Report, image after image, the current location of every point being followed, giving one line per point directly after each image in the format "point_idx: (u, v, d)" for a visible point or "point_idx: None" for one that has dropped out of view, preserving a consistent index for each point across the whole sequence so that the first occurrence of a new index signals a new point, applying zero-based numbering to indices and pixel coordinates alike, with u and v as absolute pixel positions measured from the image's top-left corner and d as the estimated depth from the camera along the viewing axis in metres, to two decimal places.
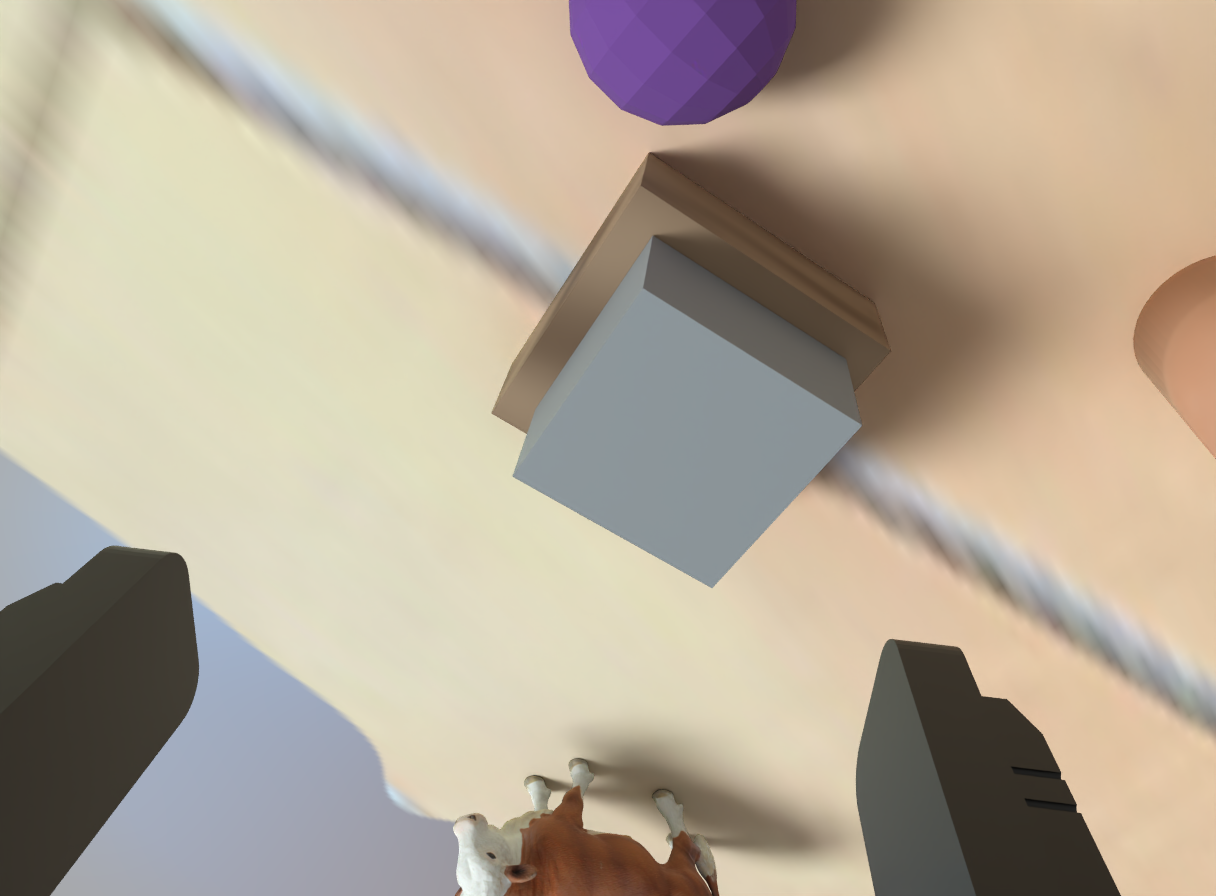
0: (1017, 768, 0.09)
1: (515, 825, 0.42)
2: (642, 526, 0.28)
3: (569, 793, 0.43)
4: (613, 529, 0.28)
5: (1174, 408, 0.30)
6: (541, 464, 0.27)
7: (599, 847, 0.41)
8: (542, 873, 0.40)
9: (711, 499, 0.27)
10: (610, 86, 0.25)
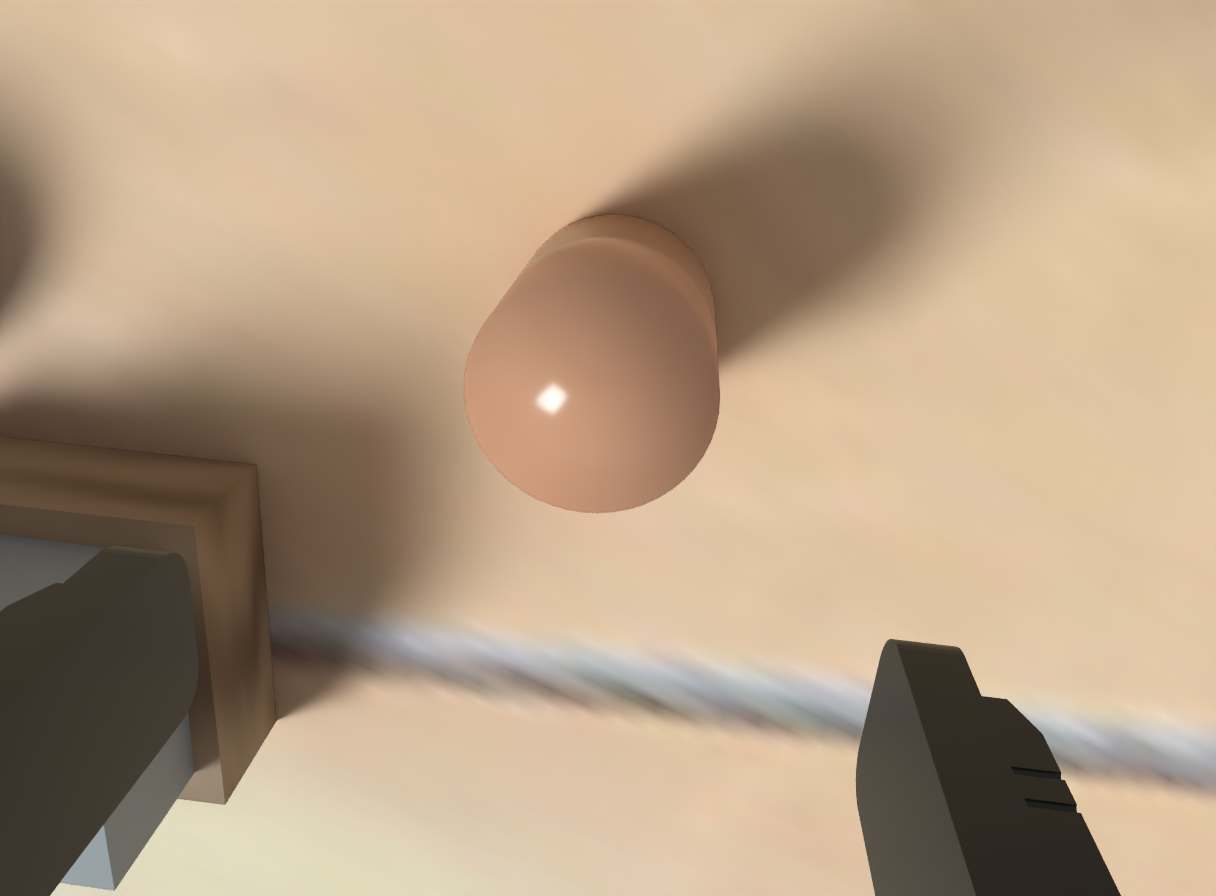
0: (1017, 768, 0.09)
1: None
2: None
3: None
4: None
5: None
6: None
7: None
8: None
9: None
10: None
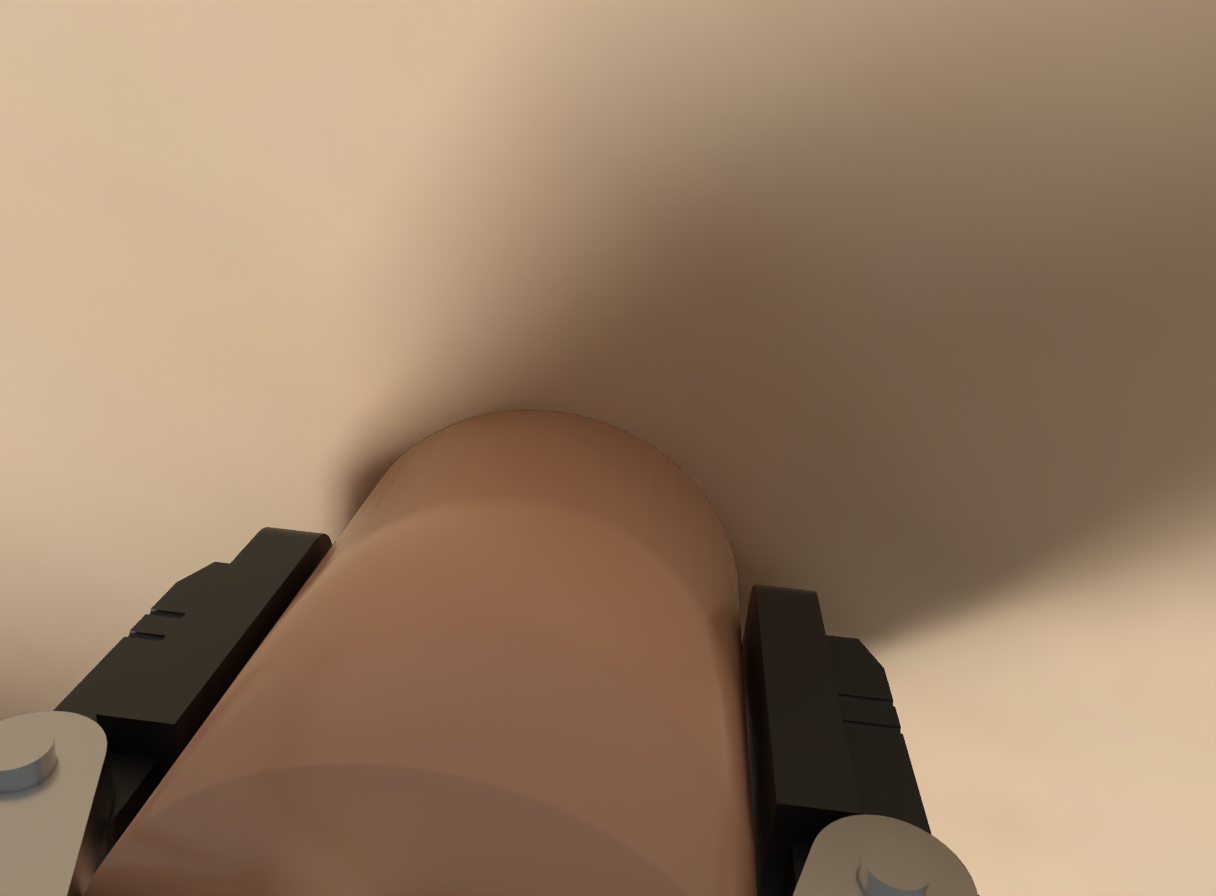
0: (853, 696, 0.10)
1: None
2: None
3: None
4: None
5: None
6: None
7: None
8: None
9: None
10: None
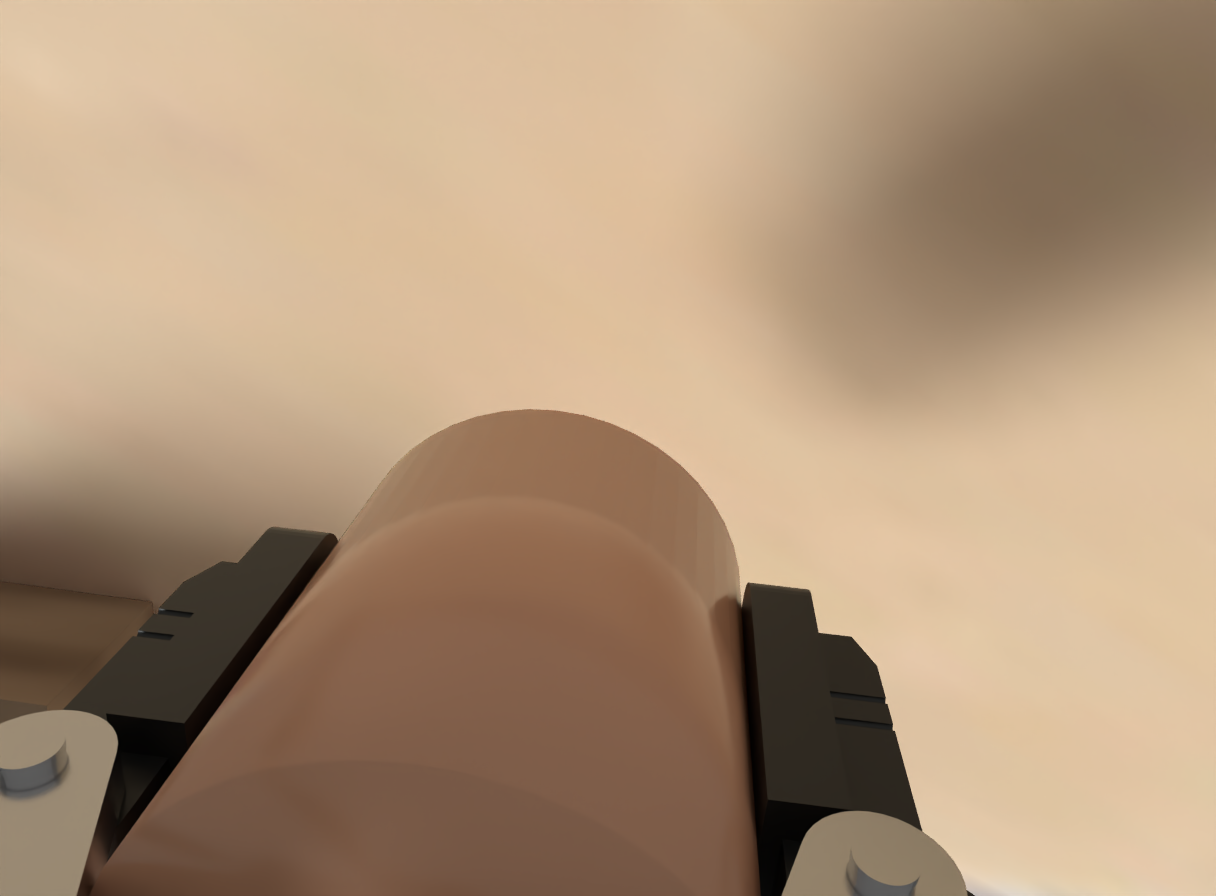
0: (845, 694, 0.10)
1: None
2: None
3: None
4: None
5: None
6: None
7: None
8: None
9: None
10: None
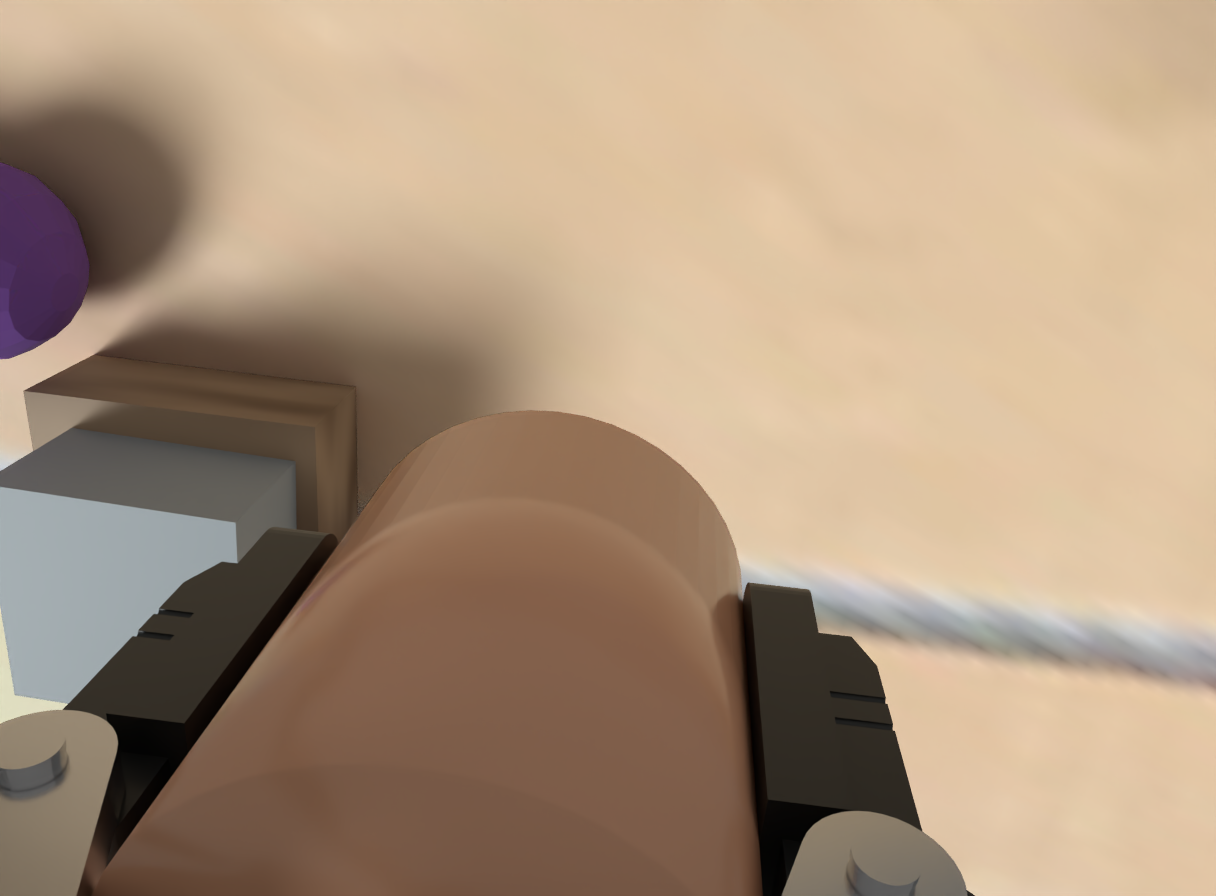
0: (845, 694, 0.10)
1: None
2: None
3: None
4: None
5: None
6: (27, 674, 0.28)
7: None
8: None
9: None
10: None
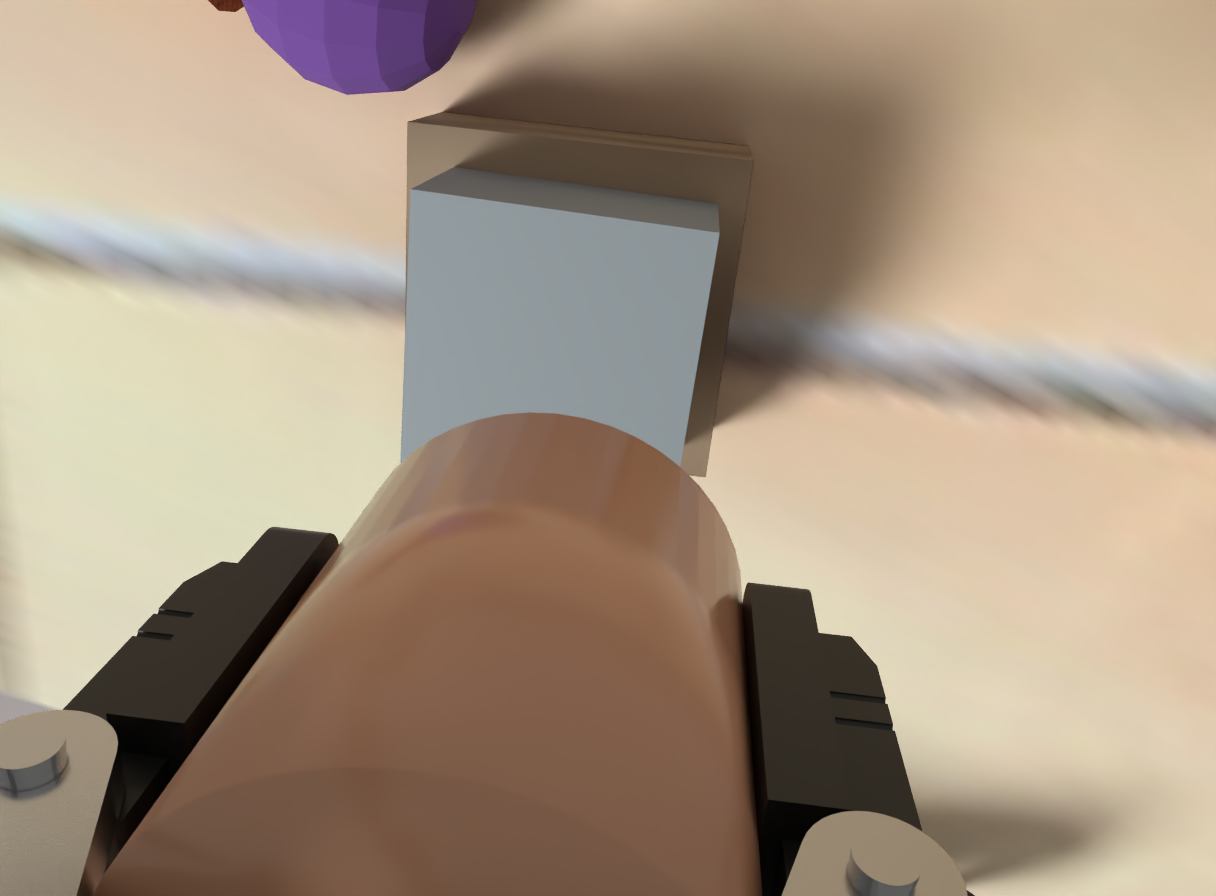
0: (845, 694, 0.10)
1: None
2: None
3: None
4: None
5: None
6: (420, 441, 0.24)
7: None
8: None
9: (612, 401, 0.23)
10: (310, 68, 0.24)
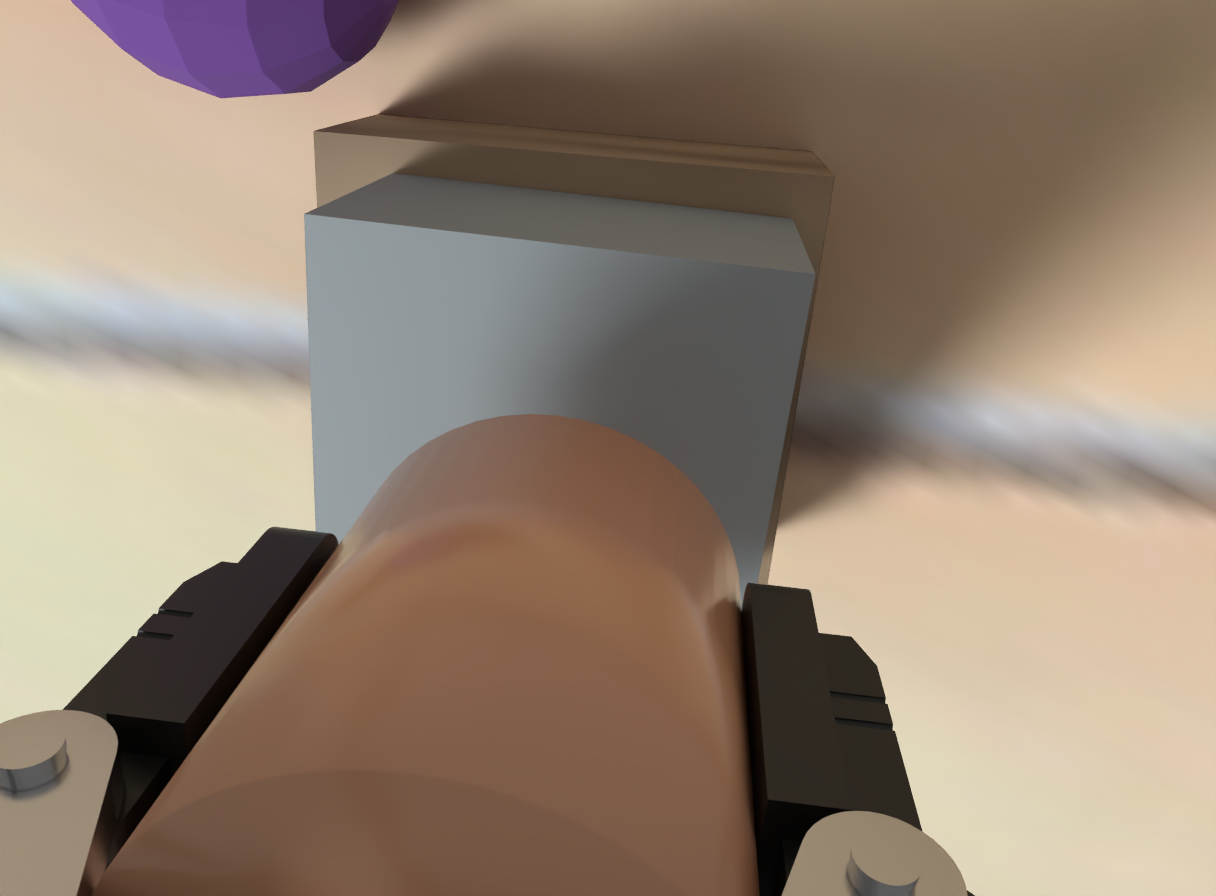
0: (846, 694, 0.10)
1: None
2: None
3: None
4: None
5: None
6: None
7: None
8: None
9: None
10: (154, 59, 0.16)
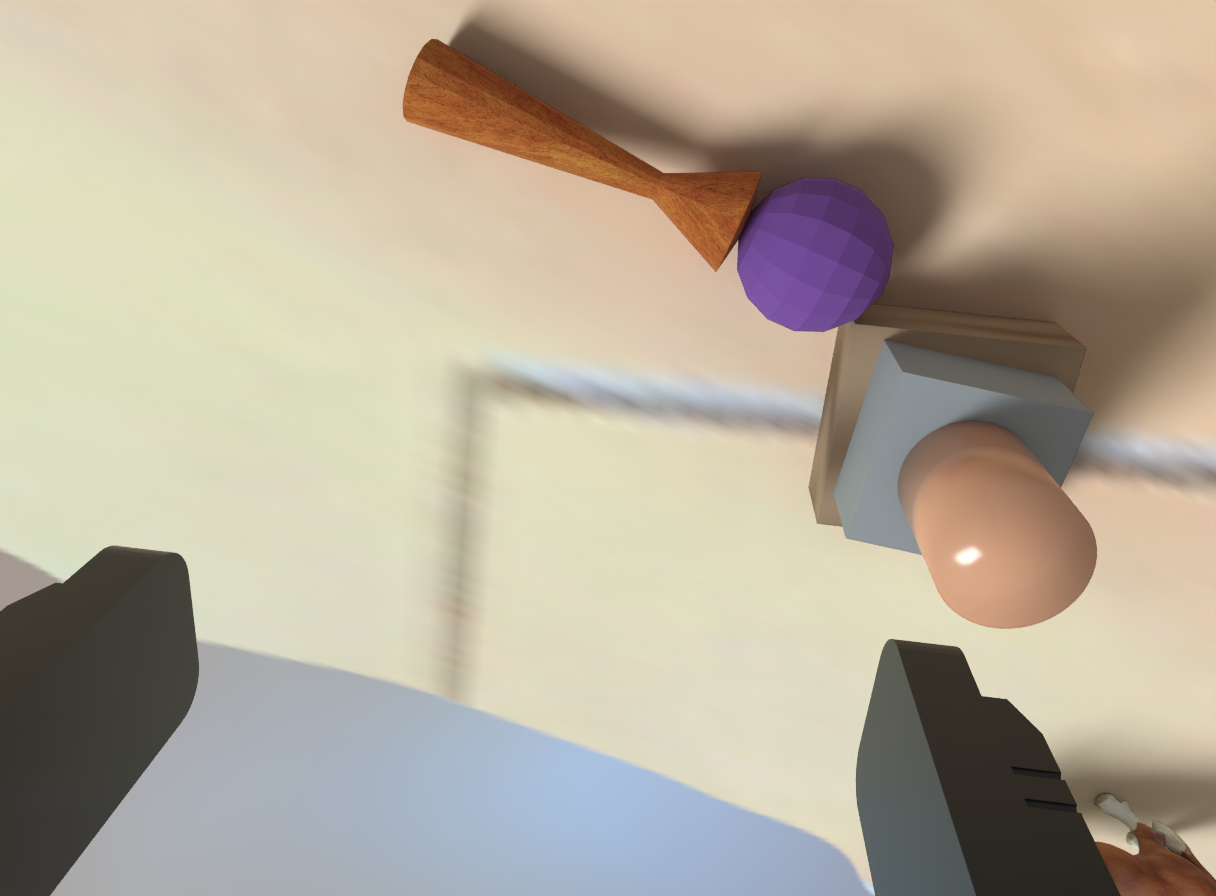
0: (1017, 768, 0.09)
1: None
2: None
3: None
4: None
5: None
6: (864, 522, 0.37)
7: None
8: None
9: None
10: (786, 321, 0.37)
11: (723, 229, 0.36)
